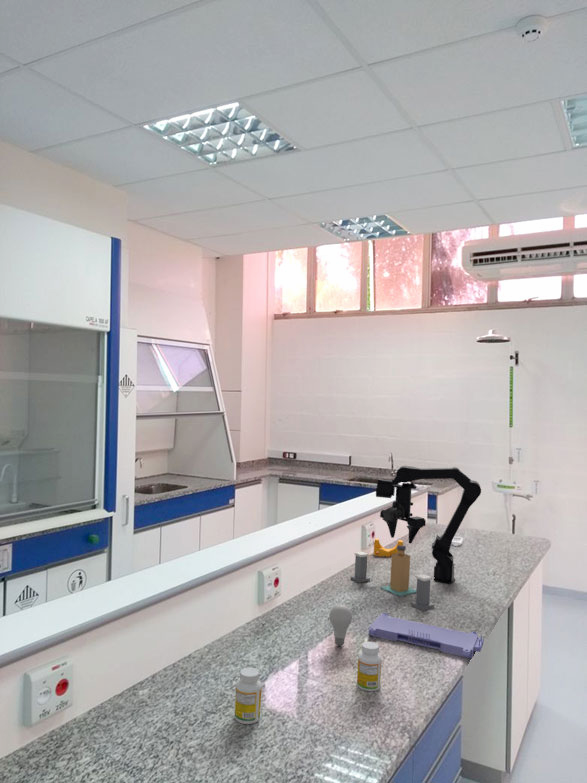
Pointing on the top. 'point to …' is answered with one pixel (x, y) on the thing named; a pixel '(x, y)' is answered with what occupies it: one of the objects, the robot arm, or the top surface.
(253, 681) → the supplement bottle
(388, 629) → the computer part
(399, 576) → the bottle
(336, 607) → the lightbulb
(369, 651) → the supplement bottle
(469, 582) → the top surface
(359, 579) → the post right
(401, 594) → the mat
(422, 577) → the post
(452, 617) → the top surface
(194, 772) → the top surface
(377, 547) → the pipe clamp
